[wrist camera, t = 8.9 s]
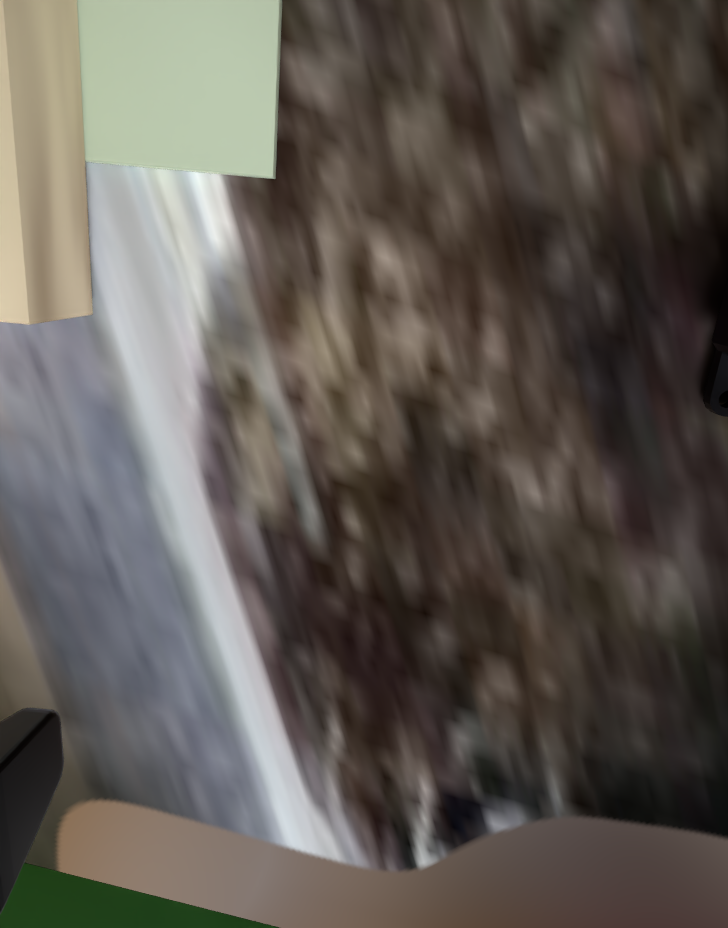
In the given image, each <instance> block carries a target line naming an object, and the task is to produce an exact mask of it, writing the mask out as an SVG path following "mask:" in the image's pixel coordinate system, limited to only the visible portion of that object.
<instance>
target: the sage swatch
mask: <svg viewBox="0 0 728 928" xmlns="http://www.w3.org/2000/svg"><path fill="white" fill-rule="evenodd" d="M77 10H78V30H79V50H80V70H81V90H82V110H83V130H84V149H85V162H91V163H102V164H113V165H124V166H136V167H147V168H158V169H169V170H180V171H192V172H203V173H214V174H225V175H236V176H248V177H259V178H270V179H275V177H276V150H277V124H278V97H279V71H280V44H281V17H282V0H77Z"/></svg>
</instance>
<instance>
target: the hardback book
mask: <svg viewBox="0 0 728 928" xmlns="http://www.w3.org/2000/svg"><path fill="white" fill-rule="evenodd" d="M0 928H279V927H275V926H271V925H267V924H263V923H259V922H256V921H251V920H248V919H244V918H239V917H236V916H232V915H228V914H224V913H220V912H216V911H212V910H208V909H204V908H200V907H196V906H192V905H189V904H185V903H181V902H177V901H173V900H169V899H164V898H161V897H157V896H153V895H149V894H145V893H141V892H137V891H133V890H129V889H126V888H122V887H118V886H114V885H110V884H106V883H102V882H98V881H94V880H90V879H86V878H82V877H78V876H74V875H70V874H66V873H63V872H59V871H55V870H51V869H47V868H43V867H39V866H35V865H31V864H27V863H24V864H23V866H22V869H21V871H20V873H19V876H18V878H17V880H16V883H15V885H14V887H13V889H12V891H11V893H10V896H9V898H8V900H7V902H6V904H5V906H4V908H3V910H2V912H1V914H0Z"/></svg>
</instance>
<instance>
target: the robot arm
mask: <svg viewBox="0 0 728 928" xmlns="http://www.w3.org/2000/svg"><path fill="white" fill-rule="evenodd" d="M712 342H713V344H714V345H715V347H716V349H715V353H714V357H713V361H712V365H711V369H710V372H709V376H708V380H707V384H706V388H705V392H704V399H703V401H704V404H705V407H706V408H707V409H709V410H710V411H711V412H713V413H715V414H718V415H721V416H727V417H728V401H727V402H726V403H724V404H721V405H720V404H719V397H720V395H721V394H722V393H723V392H725V391H728V280H727V283H726V287H725V291H724V295H723V299H722V303H721V307H720V311H719V315H718V319H717V323H716V326H715V330H714V334H713V338H712ZM63 764H64V757H63V745H62V733H61V721H60V716H59V714H58V713H57V712H56V711H54V710H48V709H37V708H25V709H22V710H20V711H18V712H16V713H15V714H13V715H11V716H9V717H8V718H6V719H4V720H3V721H1V722H0V914H1V912H2V910H3V908H4V906H5V904H6V902H7V900H8V898H9V896H10V893H11V891H12V889H13V887H14V885H15V883H16V880H17V878H18V876H19V873H20V871H21V869H22V866H23V864H24V862H25V859H26V857H27V855H28V853H29V850H30V848H31V846H32V843H33V841H34V839H35V836H36V834H37V832H38V829H39V827H40V825H41V823H42V820H43V818H44V816H45V813H46V811H47V809H48V806H49V804H50V802H51V800H52V797H53V795H54V793H55V790H56V788H57V786H58V783H59V781H60V778H61V775H62V771H63Z"/></svg>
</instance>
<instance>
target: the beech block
mask: <svg viewBox="0 0 728 928" xmlns="http://www.w3.org/2000/svg"><path fill="white" fill-rule="evenodd" d="M87 315H93V309H92V289H91V269H90V249H89V229H88V209H87V189H86V169H85V149H84V130H83V110H82V90H81V70H80V50H79V30H78V10H77V0H0V322H8V323H19V324H29V325H30V324H36V323H42V322H49V321H55V320H61V319H68V318H74V317H80V316H87Z"/></svg>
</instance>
